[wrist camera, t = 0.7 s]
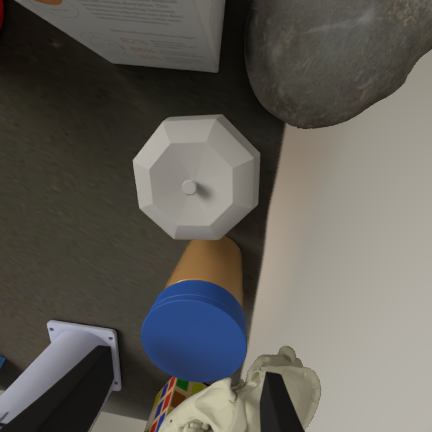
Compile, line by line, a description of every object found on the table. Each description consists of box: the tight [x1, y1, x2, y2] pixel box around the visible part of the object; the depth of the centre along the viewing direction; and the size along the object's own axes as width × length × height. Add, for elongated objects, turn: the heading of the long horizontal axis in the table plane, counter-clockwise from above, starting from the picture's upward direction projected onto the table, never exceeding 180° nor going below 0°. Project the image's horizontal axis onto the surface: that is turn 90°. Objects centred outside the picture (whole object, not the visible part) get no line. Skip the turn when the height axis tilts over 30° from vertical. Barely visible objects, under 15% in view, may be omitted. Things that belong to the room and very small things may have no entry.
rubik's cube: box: [144, 377, 208, 432], centre depth 22 cm, size 6×6×6 cm
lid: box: [141, 280, 247, 383], centre depth 12 cm, size 6×6×2 cm
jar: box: [164, 235, 244, 311], centre depth 15 cm, size 5×5×8 cm
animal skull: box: [158, 346, 321, 432], centre depth 18 cm, size 15×9×8 cm
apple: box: [133, 114, 260, 240], centre depth 14 cm, size 8×8×7 cm
